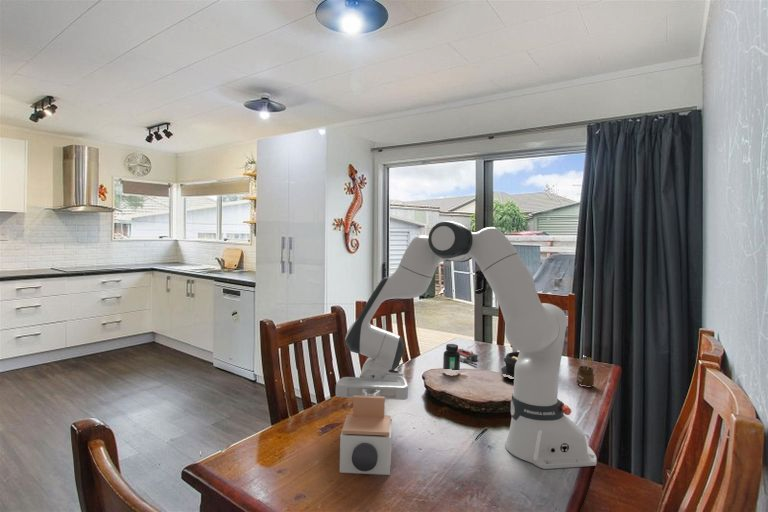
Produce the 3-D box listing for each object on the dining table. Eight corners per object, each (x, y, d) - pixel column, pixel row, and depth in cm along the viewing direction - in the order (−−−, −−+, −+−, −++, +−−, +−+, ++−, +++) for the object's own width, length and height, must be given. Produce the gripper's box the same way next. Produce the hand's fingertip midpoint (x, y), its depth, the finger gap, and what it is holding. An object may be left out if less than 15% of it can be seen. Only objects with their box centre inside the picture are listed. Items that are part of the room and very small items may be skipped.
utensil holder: (589, 383, 165) (591, 353, 164) (596, 388, 158) (597, 358, 158) (574, 382, 165) (575, 352, 165) (580, 388, 159) (581, 357, 158)
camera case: (391, 452, 108) (392, 419, 108) (389, 478, 97) (390, 441, 96) (345, 450, 109) (346, 417, 108) (338, 476, 97) (339, 438, 97)
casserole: (537, 390, 155) (538, 368, 155) (490, 379, 167) (491, 358, 166) (556, 374, 175) (557, 354, 174) (513, 365, 186) (514, 346, 186)
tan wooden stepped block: (390, 418, 108) (390, 396, 107) (389, 435, 98) (389, 411, 98) (347, 416, 108) (347, 395, 108) (342, 433, 99) (342, 409, 99)
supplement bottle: (454, 377, 167) (455, 348, 167) (439, 374, 172) (440, 345, 171) (462, 373, 173) (463, 345, 172) (447, 370, 177) (448, 342, 176)
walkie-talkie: (446, 356, 199) (474, 368, 181) (446, 347, 199) (475, 358, 181) (460, 354, 203) (489, 365, 186) (461, 345, 203) (490, 356, 185)
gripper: (339, 369, 123) (331, 386, 110) (407, 371, 122) (408, 389, 109) (338, 390, 124) (330, 409, 110) (407, 392, 123) (407, 412, 109)
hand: (369, 399), depth 109 cm, fingers closed
